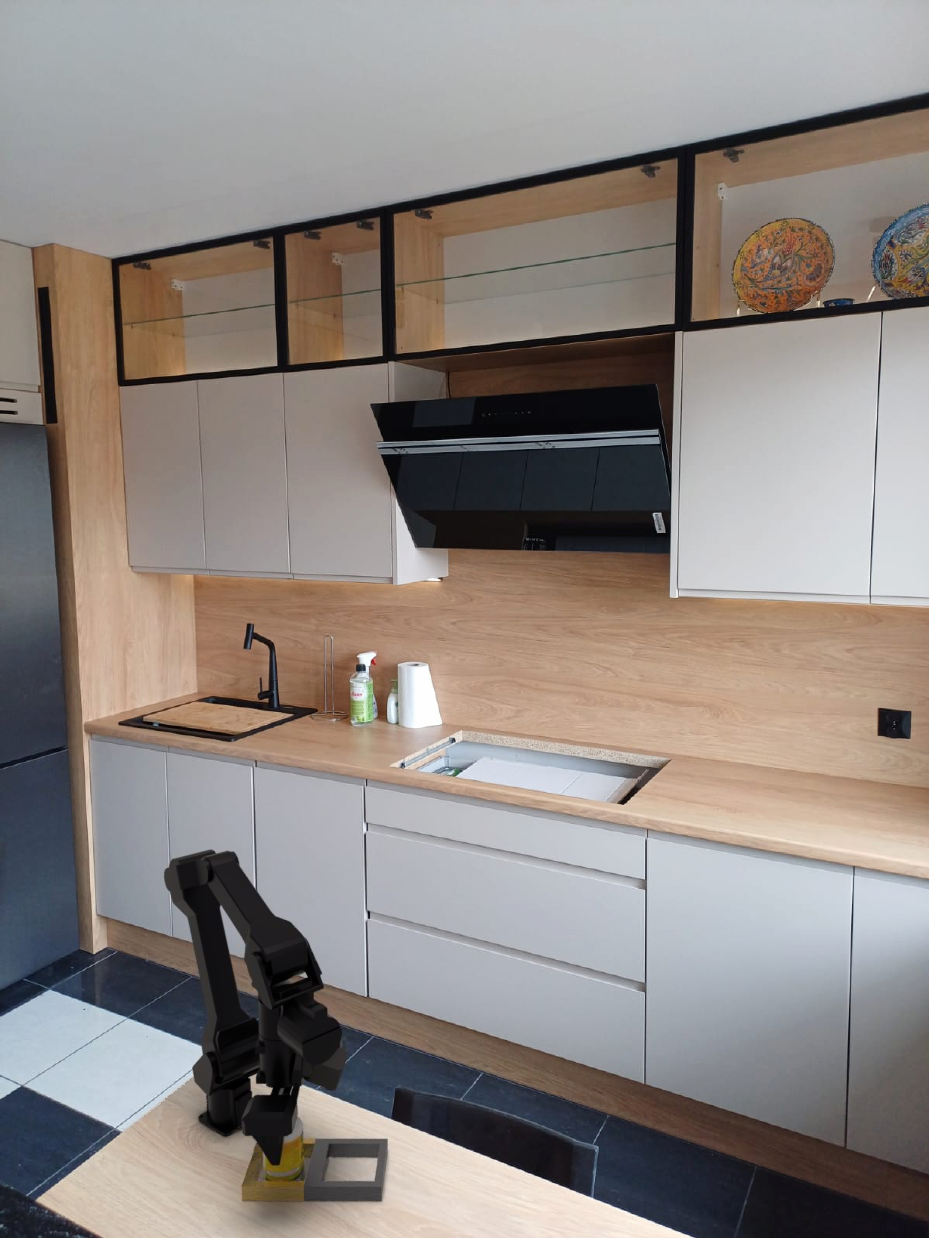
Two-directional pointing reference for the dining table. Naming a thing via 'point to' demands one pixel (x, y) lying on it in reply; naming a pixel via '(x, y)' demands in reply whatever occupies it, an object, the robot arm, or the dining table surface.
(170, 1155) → the dining table surface
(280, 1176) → the supplement bottle
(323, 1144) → the rectangular frame
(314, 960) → the robot arm
